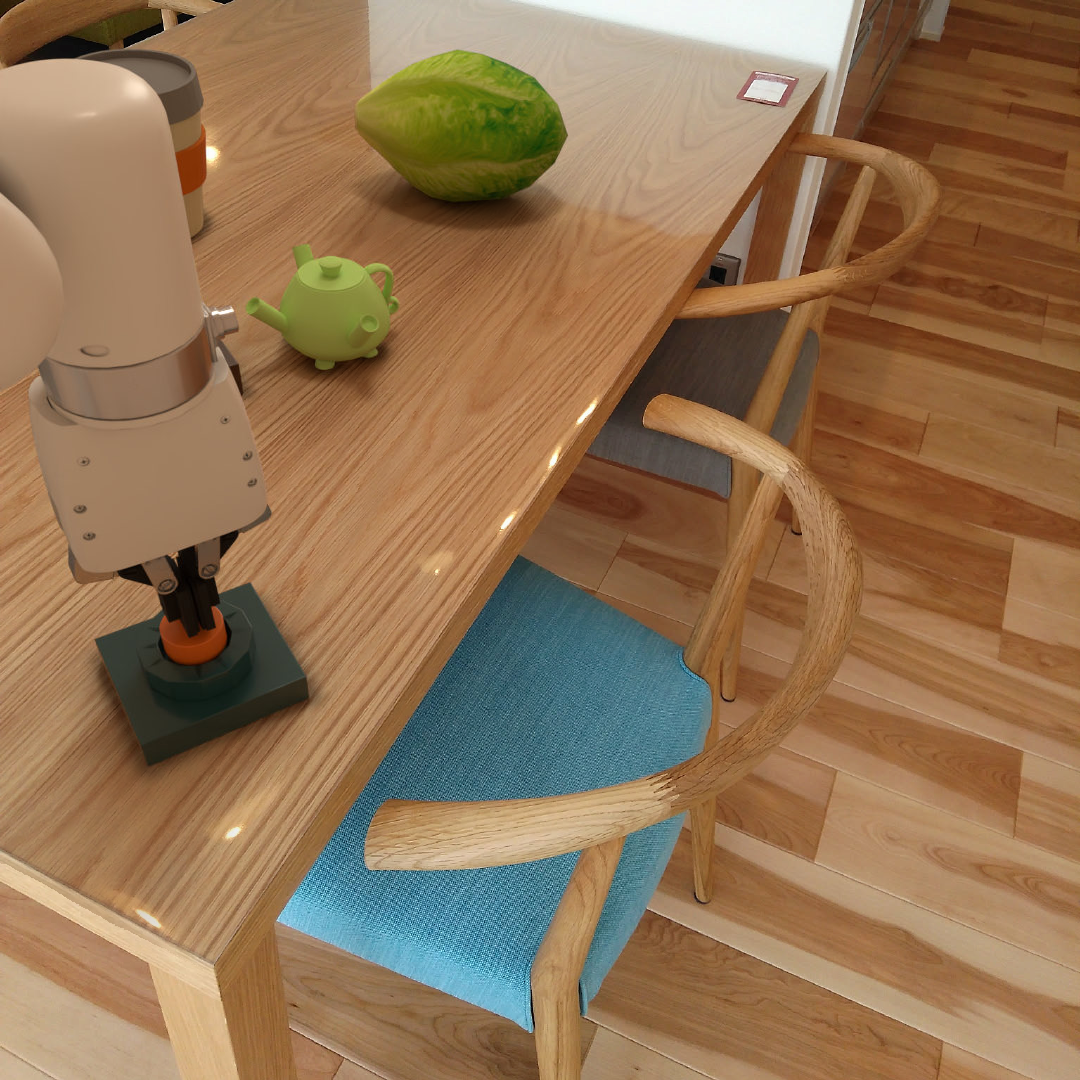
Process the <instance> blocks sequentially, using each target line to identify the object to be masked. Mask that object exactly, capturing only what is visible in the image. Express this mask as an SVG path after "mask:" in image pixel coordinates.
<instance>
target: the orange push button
mask: <svg viewBox="0 0 1080 1080" xmlns="http://www.w3.org/2000/svg"><path fill="white" fill-rule="evenodd" d="M211 608H212V612H213V616H214V620H215V625H216V628H214V629H212V630H209V631H207V630H206V629H205V630H203V629H202V628H201V626H200V624H199V627H200V632H198V635H196V636H194V637H191V638H189V637H188V635H187V633H186V631H185V629H184V627H183V625H182V623H181V621H180V620H176V621H173V622H171V623H169V622H168V620H167V618H166V616H164V617H163V619H162V621H161V623H160V634H161V638H162V642H163V645H164V649H165V652H166V654H167V655H168V657H169V658H170V659H172V660H173V661H174V662H176V663H179V664H182V665H200V664H203V663H206V662H209V661H211V660H212V659H214V658H216V657H217V656H218V655H219V654H220V653H221V652H222V651H223V649H224V647H225V645H226V642H227V634H226V629H225V625H224V620H223V616H222V613H221V612H220V610H219V609H218V608H216V607H215V606H213V607H211ZM198 623H199V622H198Z"/></svg>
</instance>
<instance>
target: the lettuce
mask: <svg viewBox="0 0 1080 1080" xmlns="http://www.w3.org/2000/svg"><path fill="white" fill-rule="evenodd" d="M353 118H354V129H355V130H356V132H357V134H358V135H359V136H360V137H361V138H362V139H363V140H364V141H365V142H366V143H367V144H368V145H369V146H370V147H371V148H372V149H374V150H375V151H376V152H377V154H379V155H380V156H381V157H382V158H383V159H384V160H385V161H386V162H388V163H389V165H390V166H391V168H392V169H394V170H395V171H396V172H397V173H398V174H399V175H400V176H401V177H403V179H404V180H405V181H406V182H408V183H409V184H410V185H411V186H412V187H415V189H417V190H419V191H420V192H422V193H424V194H425V195H426V196H428V197H430V198H434V199H437V200H443V201H448V202H452V203H457V202H471V201H482V200H483V201H487V200H502V199H505V198H508V197H510V196H512V195H514V194H516V193H519V192H521V191H523V190H526V189H527V188H531V186H532V185H533V184H534V183H536V181H538V179H540V178H541V177H542V176H543V175H544V174H545V173H546V172H547V171H548V170H549V169H550V168H551V167H552V166H553V165H554V164H555V163H556V161H557V160H558V157H559V155H560V153H561V151H562V149H563V148H564V145H565V143H566V141H567V139H568V137H569V134H568V131H567V127H566V124H565V122H564V117H563V116H562V112H561V109H560V105H559V104H558V103H557V102H556V101H555V99H554V98H553V97H552V96H551V95H550V94H549V93H548V91H547V90H546V89H545V88H544V87H543V85H542V84H541V83H540V82H539V81H538V79H536V77H534V76H533V75H531V74H529V73H526V72H525V71H523V70H521V69H519V68H518V67H515V66H513V65H511V64H509V63H507V62H505V61H502V60H500V59H496V58H493V57H492V56H489V55H486V54H483V53H479V52H473V51H468V50H463V49H454V50H451V51H447V52H443V53H439V54H436V55H432V56H430V57H427V58H425V59H422V60H419V61H417V62H413V63H412V64H410V65H408V66H407V67H404V68H403V69H401V70H400V71H398V72H396V73H394V74H393V75H391V76H390V77H388V78H387V79H385V80H383V81H382V82H381V83H379V84H378V85H376V87H374V88H373V89H372V90H370V91H368V92H367V93H366V94H364V95H363V96H362V97H361V98H359V100H358V101H356V103H355V105H354V109H353Z"/></svg>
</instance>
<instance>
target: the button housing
mask: <svg viewBox="0 0 1080 1080" xmlns="http://www.w3.org/2000/svg"><path fill="white" fill-rule="evenodd" d="M218 595H219V599H220V604H218V605H216V606H215V607H216V608H218V609H219V610H220V612H221V613H222V616H223V620H224V625H225V629H226V634H227V642H226V645H225V647H224V649H223V651H222V652H221V653H220V654H219V655H218V656H217V657H216V658H214V659H212V660H211V661H209V662H206V663H203V664H200V665H182V664H179V663H176V662H174V661H173V660H172V659H170V658H169V657H168V655H167V654H166V652H165V649H164V645H163V642H162V638H161V634H160V623H161V621H162V619H163V617H164V616H165V614H164V612H163V609H162V608H161V610H159V612H157V613H156V614H155V615H154V616H153V617H151V618H148V619H146V620H143V621H140V622H137V623H135V624H132V625H128V626H126V627H124V628H121V629H118V630H116V631H113V632H110V633H107V634H105V635H102V636H99V637H96V638H94V642H95V645H96V648H97V650H98V653H99V656H100V659H101V662H102V665H103V666H104V669H105V671H106V673H107V676H108V678H109V680H110V683H111V685H112V687H113V690H114V692H115V694H116V697H117V699H118V701H119V704H120V706H121V709H122V711H123V713H124V715H125V718H126V720H127V722H128V724H129V727H130V729H131V731H132V734H133V736H134V738H135V740H136V743H137V745H138V748H139V750H140V752H141V755H142V757H143V759H144V762H145V763H146V766H147V767H148V768H149V767H152V766H155V765H156V764H157V765H158V764H159V763H161V762H163V761H166V760H168V759H172V757H176V756H178V755H180V754H182V753H185V752H188V751H190V750H191V749H194V748H196V747H200V746H201V745H203V744H206V743H208V742H211V741H213V740H215V739H218V738H220V737H222V736H224V735H227V734H229V733H231V732H234V731H237V730H239V729H241V728H243V727H245V726H248V725H250V724H252V723H256V722H257V721H259V720H262V719H264V718H267V717H269V716H271V715H274V714H276V713H278V712H281V711H283V710H285V709H288V708H290V707H292V706H295V705H297V704H299V703H302V702H304V701H307V700H308V699H310V691H309V684H308V676H307V674H306V673H305V671H304V669H303V667H302V666H301V665H300V662H299V661H298V659H297V657H296V656H295V654H294V653H293V651H292V649H291V647H290V645H289V644H288V643H287V640H286V639H285V638H284V636H283V634H282V633H281V631H280V629H279V627H278V626H277V623H276V622H275V621H274V619H273V617H272V615H271V614H270V612H269V610H268V609H267V606H265V604H264V602H263V600H262V598H261V597H260V596H259V593H258V592H257V590H256V589H255V587H254V585H253V584H252V582H251V581H249V582H247V583H244V584H241V585H239V586H235V587H233V588H230V589H228V590H225V591H223V592H222V591H221V592H218Z"/></svg>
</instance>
